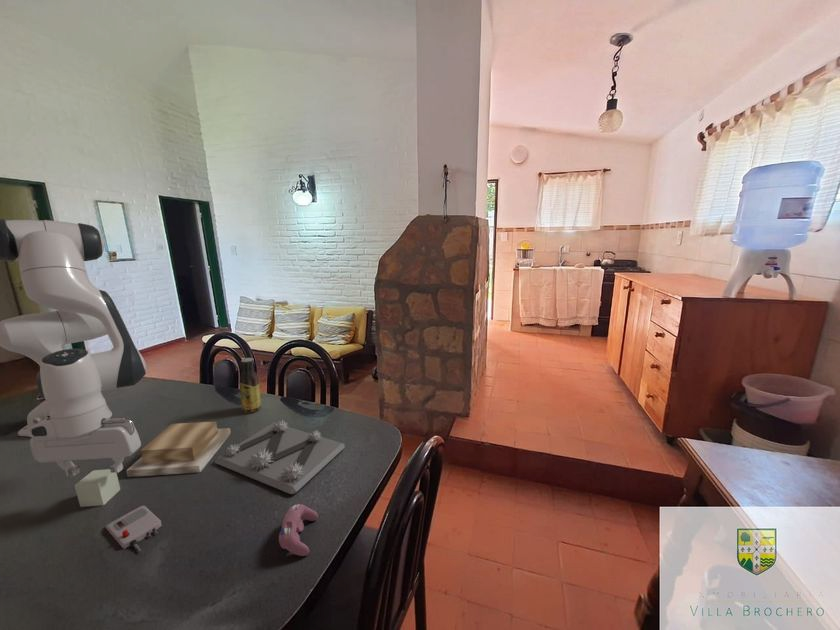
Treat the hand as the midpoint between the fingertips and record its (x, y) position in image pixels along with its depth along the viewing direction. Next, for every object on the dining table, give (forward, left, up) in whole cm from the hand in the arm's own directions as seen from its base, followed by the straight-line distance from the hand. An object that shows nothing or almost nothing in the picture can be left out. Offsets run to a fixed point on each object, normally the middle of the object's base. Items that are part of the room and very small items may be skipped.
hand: (95, 472), depth 77 cm
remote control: (+14, -10, -8) cm, 19 cm away
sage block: (0, 0, -7) cm, 7 cm away
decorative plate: (+39, +12, -8) cm, 41 cm away
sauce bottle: (+20, +40, -7) cm, 45 cm away
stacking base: (+10, +16, -7) cm, 20 cm away
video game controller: (+50, -16, -8) cm, 53 cm away
